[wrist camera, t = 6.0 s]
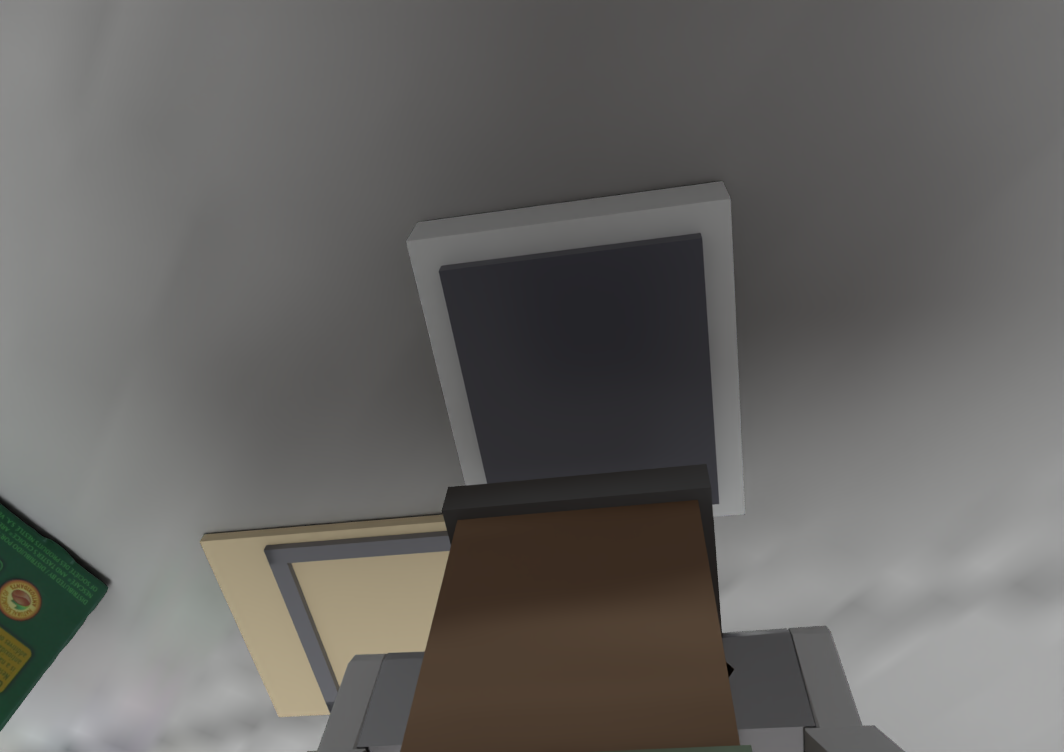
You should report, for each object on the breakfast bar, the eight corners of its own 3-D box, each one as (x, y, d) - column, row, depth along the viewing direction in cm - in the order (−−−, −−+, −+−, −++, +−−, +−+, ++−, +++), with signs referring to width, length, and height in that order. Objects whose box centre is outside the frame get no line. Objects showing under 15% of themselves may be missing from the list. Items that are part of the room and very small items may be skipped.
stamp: (448, 487, 13) (358, 806, 8) (706, 463, 12) (772, 793, 8) (494, 668, 15) (443, 1017, 10) (721, 656, 14) (781, 1018, 9)
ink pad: (417, 222, 18) (402, 246, 16) (722, 180, 17) (733, 203, 15) (483, 504, 21) (475, 544, 20) (737, 483, 20) (747, 522, 19)
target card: (204, 534, 22) (196, 546, 22) (569, 504, 21) (568, 516, 20) (281, 708, 26) (276, 722, 25) (602, 693, 24) (602, 706, 24)
